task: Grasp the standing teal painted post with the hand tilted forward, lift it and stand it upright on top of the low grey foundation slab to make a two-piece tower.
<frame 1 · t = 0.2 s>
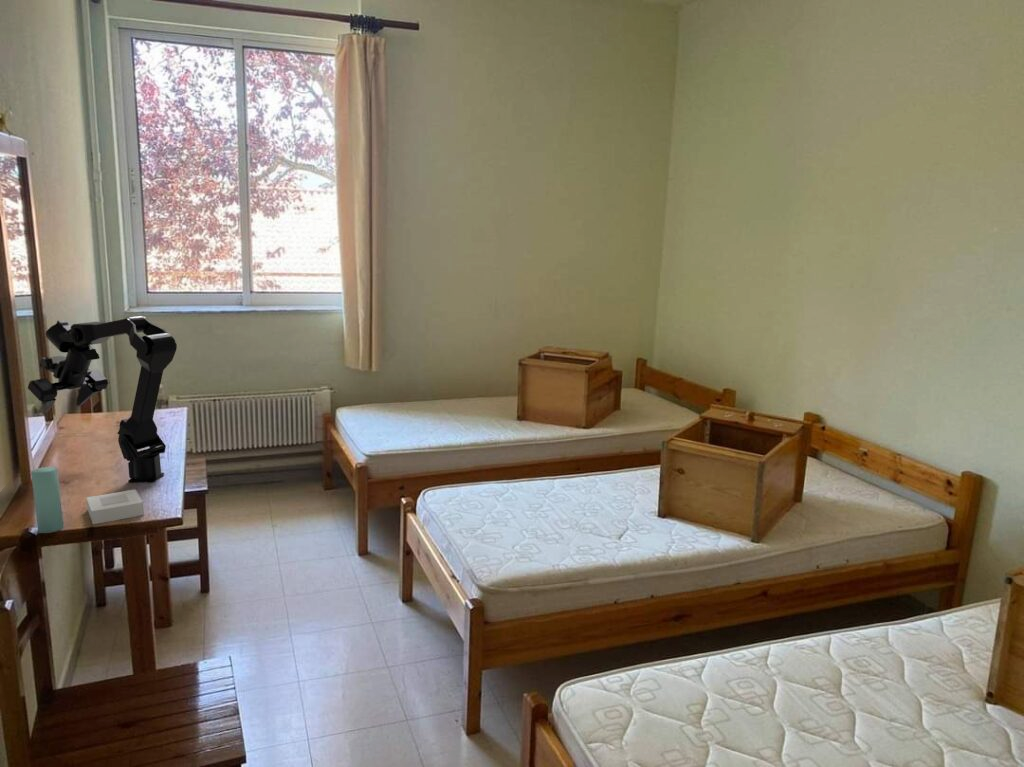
hand: (61, 408, 197), 15 cm above the table, tool tilted 35°, fingers open, 9 cm apart
plinth: (115, 512, 164), on the table
pillar: (51, 528, 155), on the table
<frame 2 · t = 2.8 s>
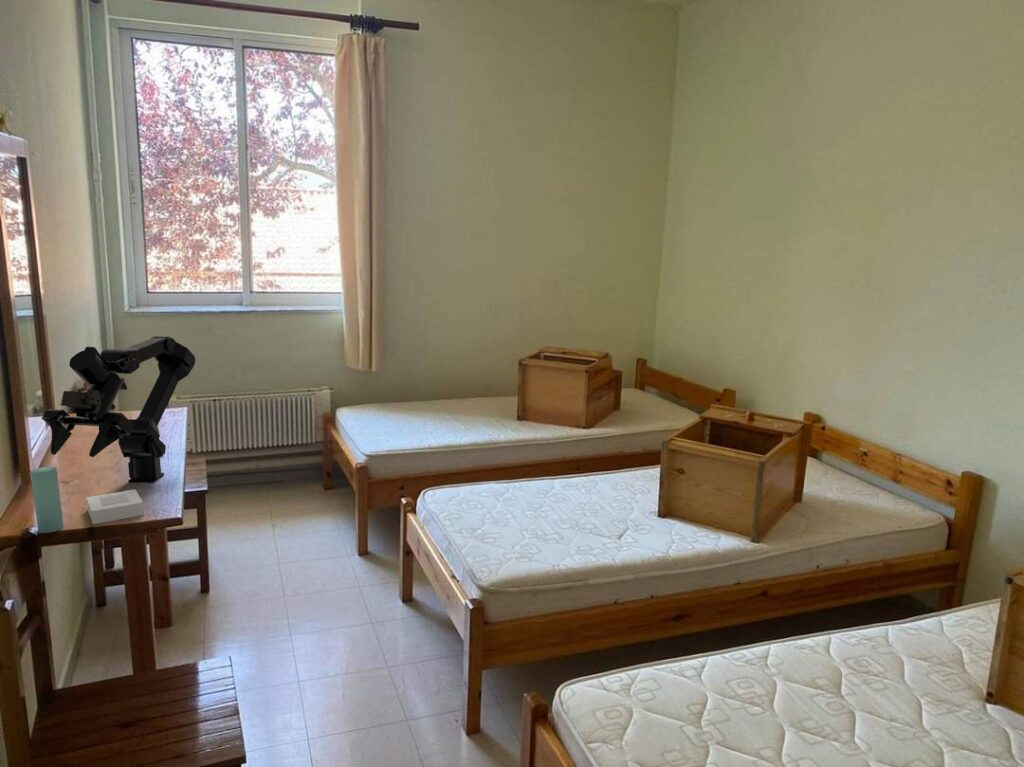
hand: (71, 455, 160), 14 cm above the table, tool tilted 45°, fingers open, 9 cm apart
nothing on the table moved.
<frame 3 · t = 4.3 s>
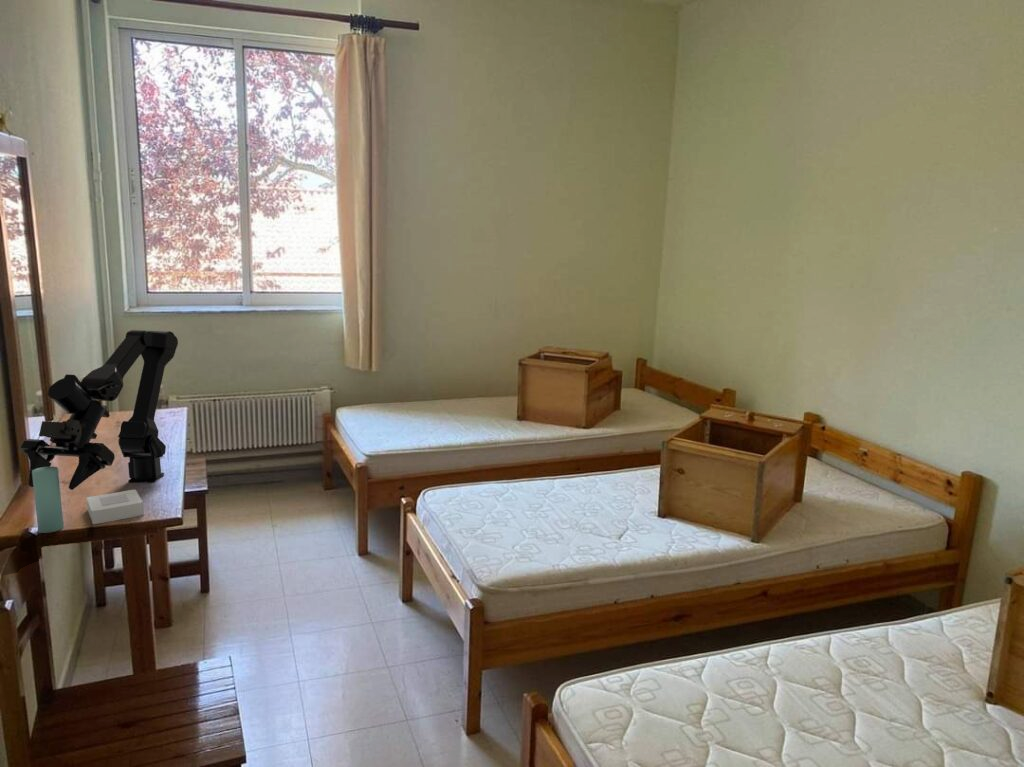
hand: (50, 487, 154), 9 cm above the table, tool tilted 45°, fingers open, 9 cm apart
nothing on the table moved.
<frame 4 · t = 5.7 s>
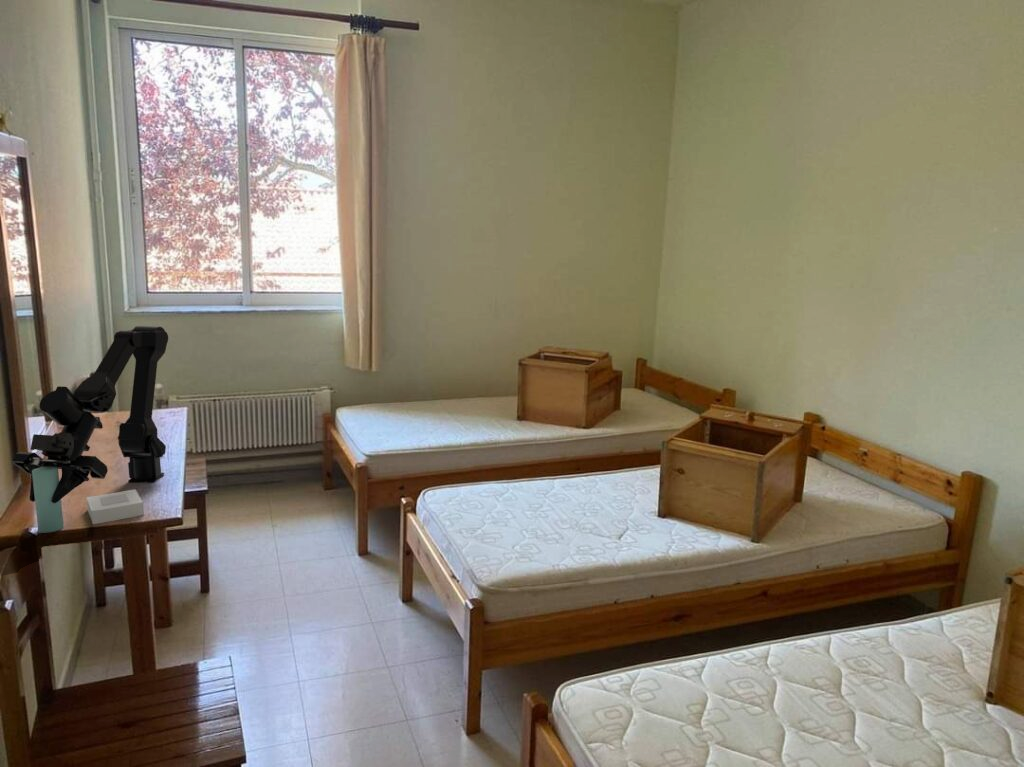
hand: (42, 501, 152), 7 cm above the table, tool tilted 45°, fingers closed on pillar, 5 cm apart
pillar: (50, 528, 155), on the table, touching gripper
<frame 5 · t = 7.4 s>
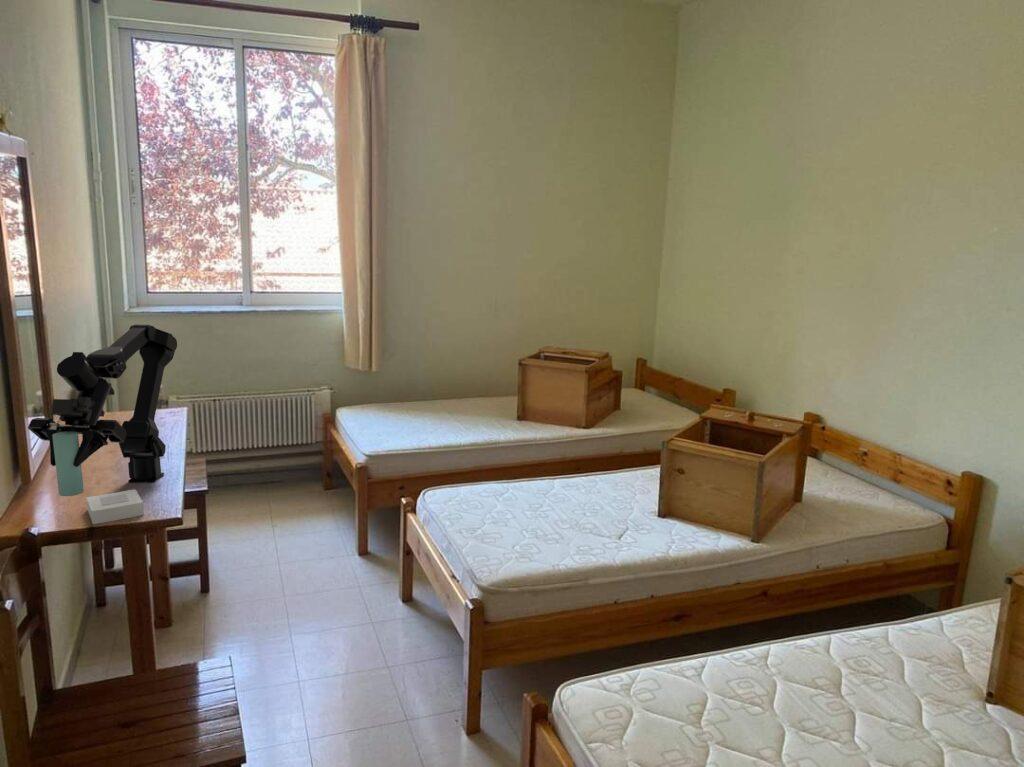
hand: (63, 465, 154), 14 cm above the table, tool tilted 45°, fingers closed on pillar, 5 cm apart
pillar: (71, 492, 157), point 7 cm above the table, touching gripper
when the fingers open (10 cm above the table, at t = 9.1 s): pillar stays where it is, resting on plinth.
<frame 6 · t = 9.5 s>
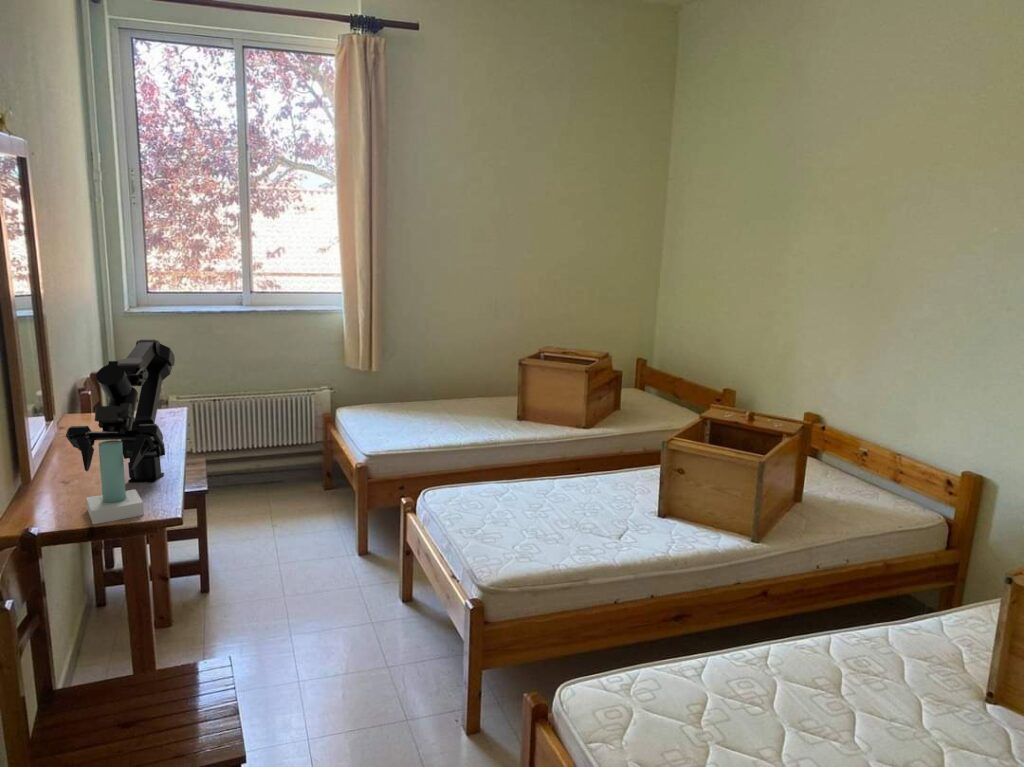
hand: (109, 469, 161), 11 cm above the table, tool tilted 45°, fingers open, 9 cm apart
pillar: (114, 499, 164), point 3 cm above the table, touching plinth
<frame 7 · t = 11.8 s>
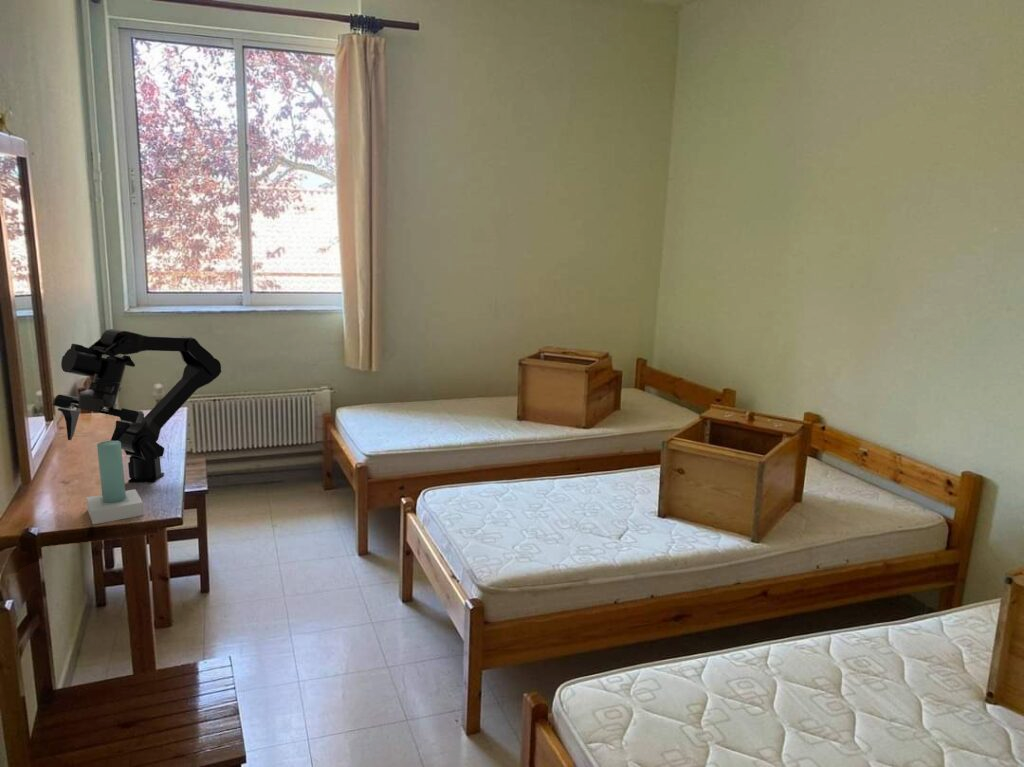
hand: (90, 444, 174), 12 cm above the table, tool tilted 20°, fingers open, 9 cm apart
nothing on the table moved.
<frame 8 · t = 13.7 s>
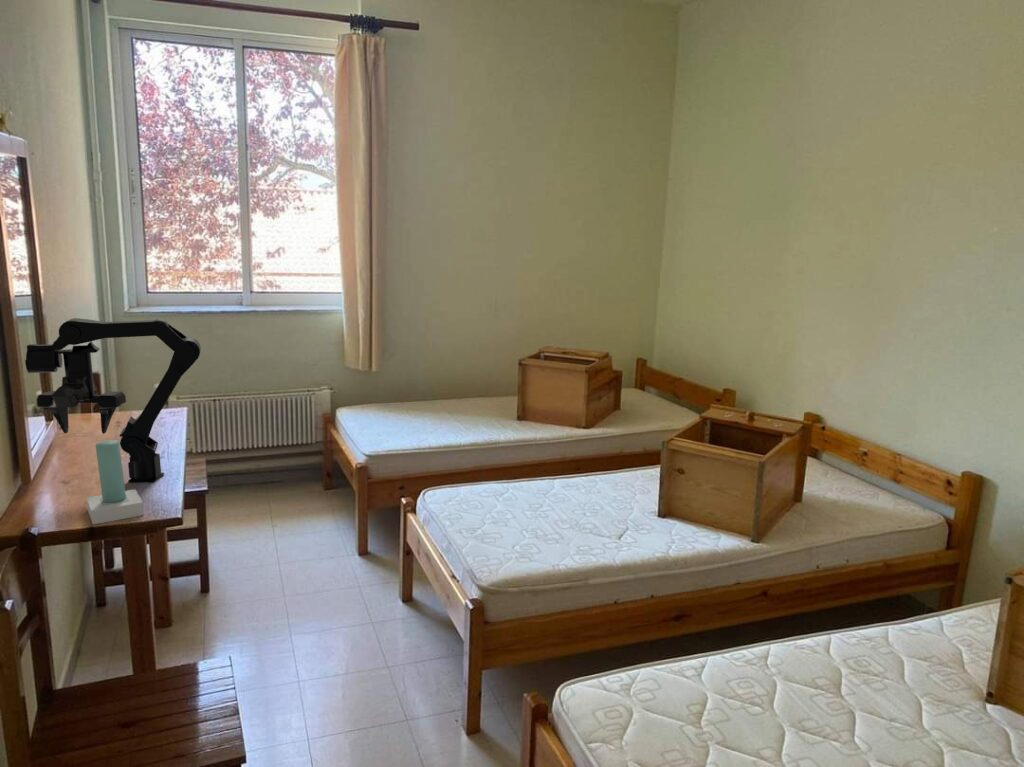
hand: (85, 433, 180), 13 cm above the table, tool pointing down, fingers open, 9 cm apart
nothing on the table moved.
at the end: pillar inside the target area on the plinth (0.1 cm from its centre), point 3.2 cm above the plinth's base; pillar tilted 1°; the gripper is holding nothing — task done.
